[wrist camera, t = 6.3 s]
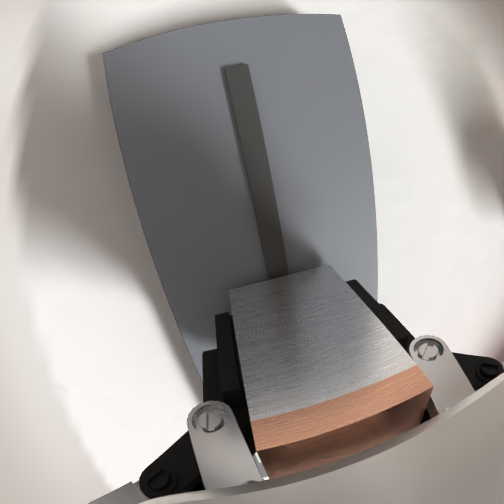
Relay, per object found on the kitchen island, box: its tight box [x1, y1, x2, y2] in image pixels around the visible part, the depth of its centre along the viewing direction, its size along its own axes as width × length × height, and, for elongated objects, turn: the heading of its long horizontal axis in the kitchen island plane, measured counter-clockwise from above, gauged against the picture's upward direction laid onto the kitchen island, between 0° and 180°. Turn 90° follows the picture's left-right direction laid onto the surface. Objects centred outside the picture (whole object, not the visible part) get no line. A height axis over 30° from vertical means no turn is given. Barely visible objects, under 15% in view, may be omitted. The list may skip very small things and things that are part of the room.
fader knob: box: [229, 264, 434, 479], centre depth 9 cm, size 4×4×7 cm
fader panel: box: [103, 14, 378, 477], centre depth 14 cm, size 9×28×2 cm, turn 12°
